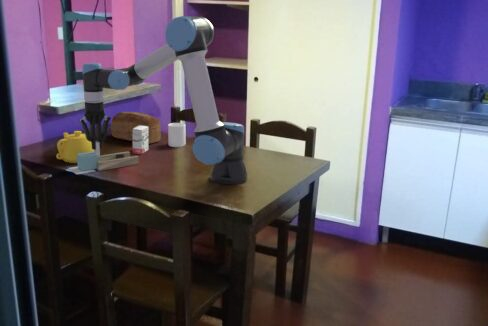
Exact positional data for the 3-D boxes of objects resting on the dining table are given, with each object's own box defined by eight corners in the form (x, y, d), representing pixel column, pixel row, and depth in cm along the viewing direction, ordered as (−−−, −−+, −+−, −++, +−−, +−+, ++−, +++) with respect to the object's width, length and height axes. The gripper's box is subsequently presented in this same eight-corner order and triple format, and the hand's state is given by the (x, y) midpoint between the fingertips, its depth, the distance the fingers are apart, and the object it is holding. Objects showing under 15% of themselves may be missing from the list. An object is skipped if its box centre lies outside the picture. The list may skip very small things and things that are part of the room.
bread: (149, 146, 246) (148, 118, 242) (108, 138, 259) (106, 111, 255) (164, 141, 256) (164, 114, 252) (124, 133, 269) (123, 108, 265)
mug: (192, 143, 254) (192, 122, 251) (179, 148, 244) (179, 127, 240) (178, 141, 257) (177, 120, 254) (165, 146, 247) (164, 125, 244)
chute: (138, 164, 217) (138, 156, 215) (99, 170, 206) (98, 162, 205) (128, 158, 224) (128, 151, 223) (90, 164, 213) (89, 157, 212)
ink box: (142, 154, 231) (141, 129, 228) (132, 153, 232) (131, 128, 229) (149, 149, 240) (148, 125, 236) (139, 148, 241) (138, 125, 237)
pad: (95, 171, 205) (95, 171, 205) (76, 174, 200) (76, 174, 200) (86, 165, 213) (86, 164, 212) (68, 168, 208) (68, 167, 208)
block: (98, 168, 208) (98, 154, 206) (82, 171, 204) (81, 157, 202) (93, 165, 212) (93, 151, 210) (77, 167, 208) (76, 153, 206)
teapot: (105, 159, 222) (104, 131, 219) (66, 167, 209) (64, 138, 205) (82, 150, 235) (80, 124, 232) (44, 157, 222) (41, 130, 218)
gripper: (105, 98, 209) (108, 152, 216) (75, 101, 201) (78, 156, 208) (112, 101, 203) (115, 156, 210) (81, 104, 196) (85, 160, 203)
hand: (97, 156), depth 209 cm, fingers closed
